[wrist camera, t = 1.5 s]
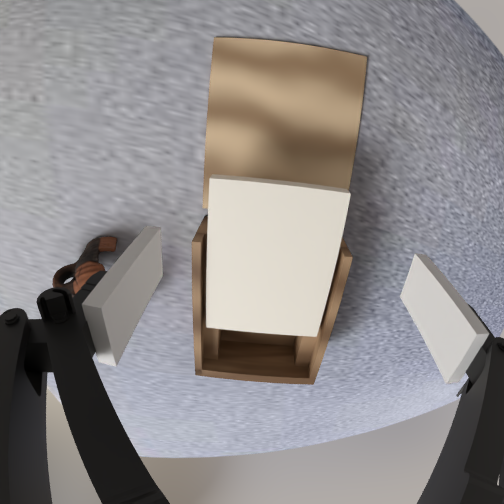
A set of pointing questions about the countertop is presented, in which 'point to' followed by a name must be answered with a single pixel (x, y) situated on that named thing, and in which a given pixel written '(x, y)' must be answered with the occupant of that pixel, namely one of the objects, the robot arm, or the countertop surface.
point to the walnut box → (259, 344)
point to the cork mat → (283, 112)
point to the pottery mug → (84, 265)
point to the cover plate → (271, 253)
